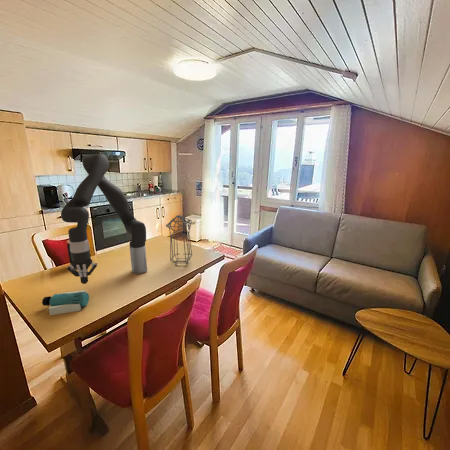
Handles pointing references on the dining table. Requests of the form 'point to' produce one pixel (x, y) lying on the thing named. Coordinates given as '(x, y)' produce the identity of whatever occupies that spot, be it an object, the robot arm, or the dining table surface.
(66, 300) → the beverage bottle
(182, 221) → the geometric lantern
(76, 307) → the cradle
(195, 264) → the dining table surface
